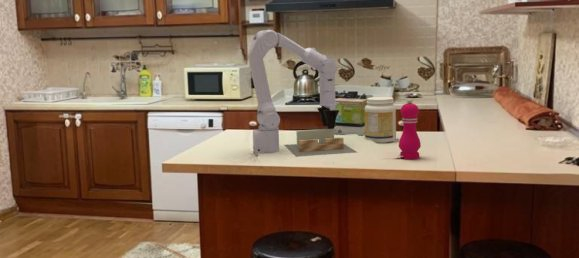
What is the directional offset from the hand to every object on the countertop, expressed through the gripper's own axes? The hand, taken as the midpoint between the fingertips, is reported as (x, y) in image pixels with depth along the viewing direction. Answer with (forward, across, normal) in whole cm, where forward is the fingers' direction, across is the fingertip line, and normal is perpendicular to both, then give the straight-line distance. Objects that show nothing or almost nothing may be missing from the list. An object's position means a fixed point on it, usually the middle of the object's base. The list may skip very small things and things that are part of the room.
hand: (328, 127), depth 213 cm
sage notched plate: (+7, 0, +5) cm, 8 cm away
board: (+8, -6, +5) cm, 11 cm away
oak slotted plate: (+7, -9, +5) cm, 12 cm away
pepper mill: (+8, -27, -21) cm, 35 cm away
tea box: (+8, +29, -17) cm, 35 cm away
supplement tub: (+8, +7, -23) cm, 25 cm away
